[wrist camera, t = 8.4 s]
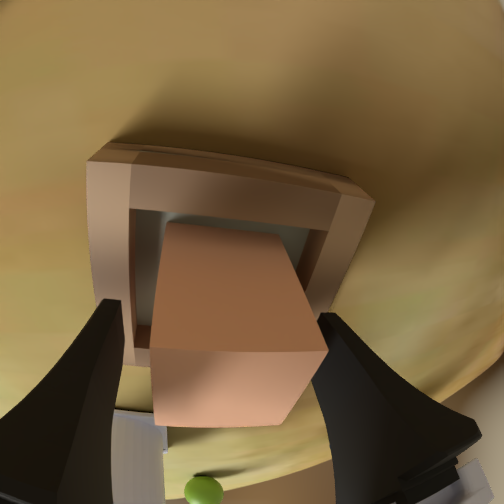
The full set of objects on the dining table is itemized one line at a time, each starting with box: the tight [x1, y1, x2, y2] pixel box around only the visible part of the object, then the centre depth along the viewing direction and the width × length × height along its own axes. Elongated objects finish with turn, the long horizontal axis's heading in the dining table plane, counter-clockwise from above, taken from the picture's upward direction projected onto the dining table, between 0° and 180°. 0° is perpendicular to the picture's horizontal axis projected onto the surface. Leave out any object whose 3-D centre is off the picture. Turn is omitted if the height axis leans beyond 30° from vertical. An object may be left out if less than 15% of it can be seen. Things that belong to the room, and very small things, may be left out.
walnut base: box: [86, 142, 376, 367], centre depth 13 cm, size 10×10×2 cm
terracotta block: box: [150, 222, 329, 428], centre depth 11 cm, size 4×4×6 cm
